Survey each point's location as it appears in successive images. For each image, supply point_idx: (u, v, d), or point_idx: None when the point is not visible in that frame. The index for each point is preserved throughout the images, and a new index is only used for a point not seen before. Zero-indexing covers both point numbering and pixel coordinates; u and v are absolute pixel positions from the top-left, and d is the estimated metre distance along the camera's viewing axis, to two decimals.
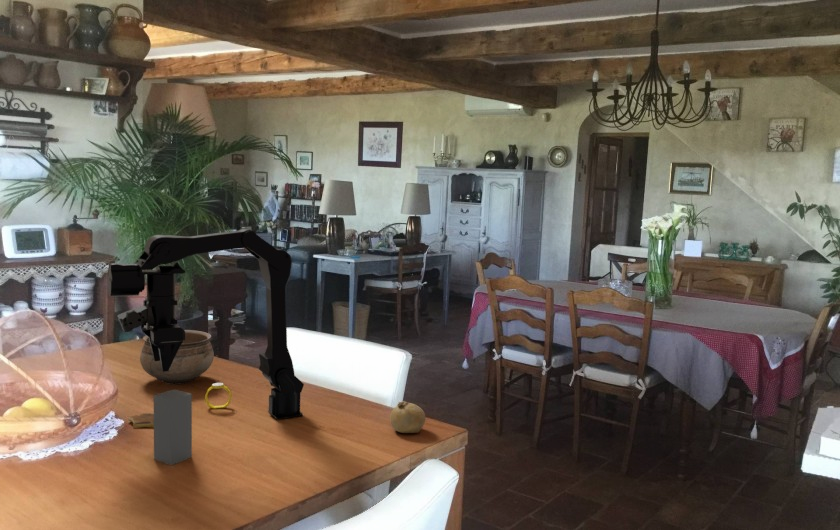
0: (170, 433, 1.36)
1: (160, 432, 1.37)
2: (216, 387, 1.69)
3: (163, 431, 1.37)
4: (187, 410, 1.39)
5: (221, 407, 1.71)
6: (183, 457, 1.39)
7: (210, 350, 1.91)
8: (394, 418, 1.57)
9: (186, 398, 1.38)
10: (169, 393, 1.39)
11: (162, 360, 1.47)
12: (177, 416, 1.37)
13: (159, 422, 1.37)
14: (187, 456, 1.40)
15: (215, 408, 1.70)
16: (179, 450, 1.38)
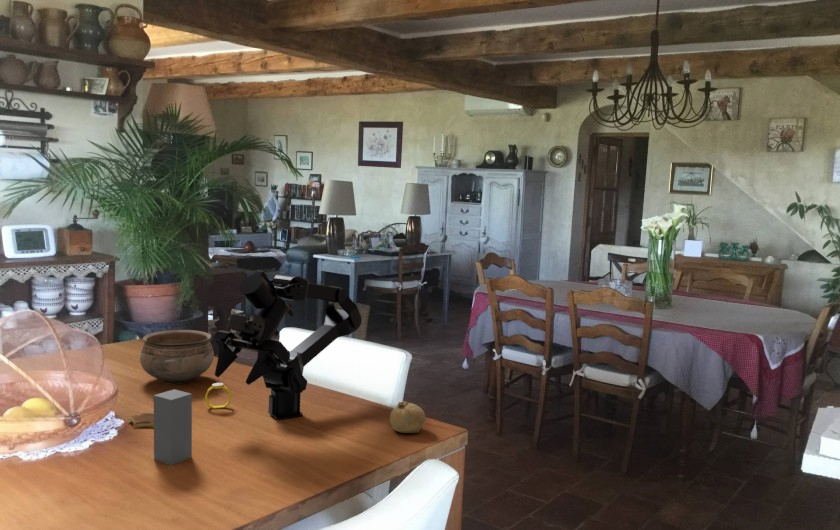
0: (170, 433, 1.36)
1: (160, 432, 1.37)
2: (216, 387, 1.69)
3: (163, 431, 1.37)
4: (187, 410, 1.39)
5: (221, 407, 1.71)
6: (183, 457, 1.39)
7: (210, 350, 1.91)
8: (394, 418, 1.57)
9: (186, 398, 1.38)
10: (169, 393, 1.39)
11: (254, 371, 1.50)
12: (177, 416, 1.37)
13: (159, 422, 1.37)
14: (187, 456, 1.40)
15: (215, 408, 1.70)
16: (179, 450, 1.38)
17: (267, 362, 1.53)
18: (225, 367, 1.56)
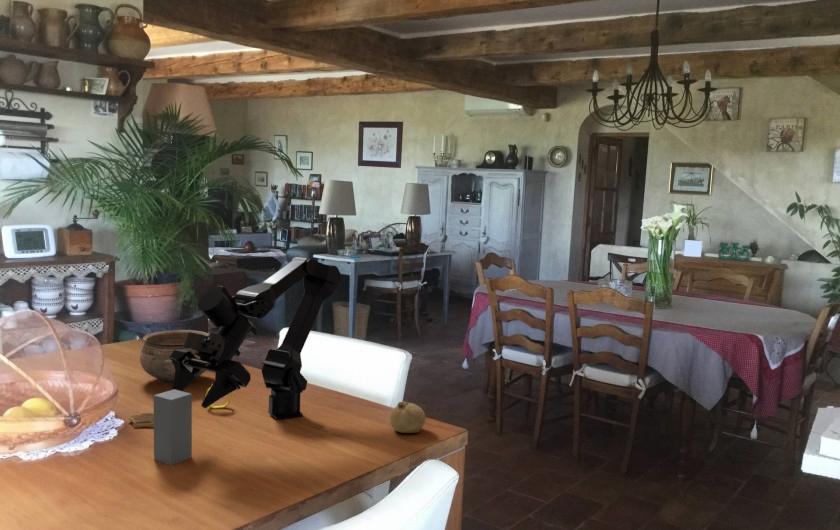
0: (170, 433, 1.36)
1: (160, 432, 1.37)
2: None
3: (163, 431, 1.37)
4: (187, 410, 1.39)
5: (221, 407, 1.71)
6: (183, 457, 1.39)
7: None
8: (394, 418, 1.57)
9: (186, 398, 1.38)
10: (169, 393, 1.39)
11: (211, 394, 1.40)
12: (177, 416, 1.37)
13: (159, 422, 1.37)
14: (187, 456, 1.40)
15: (215, 408, 1.70)
16: (179, 450, 1.38)
17: (226, 384, 1.42)
18: (181, 389, 1.46)
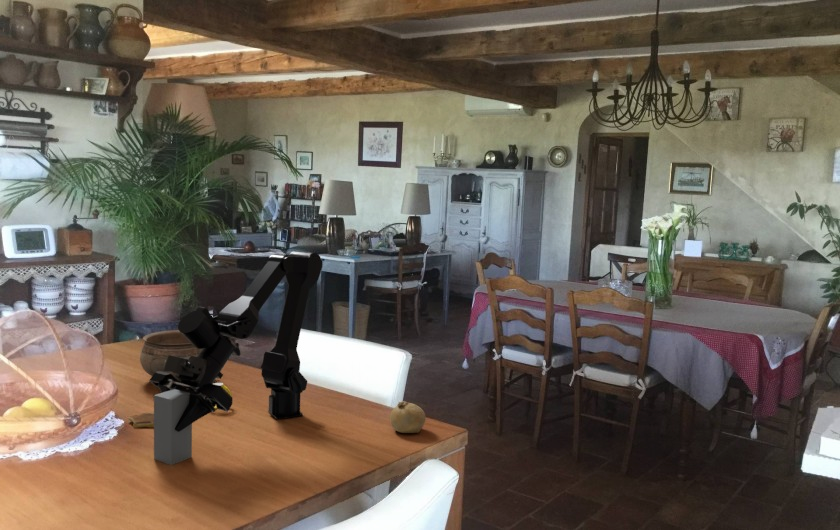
0: (170, 433, 1.36)
1: (160, 432, 1.37)
2: None
3: (163, 431, 1.37)
4: None
5: None
6: (183, 457, 1.39)
7: None
8: (394, 418, 1.57)
9: (186, 398, 1.38)
10: (170, 393, 1.39)
11: (185, 417, 1.37)
12: (177, 416, 1.37)
13: (159, 422, 1.37)
14: (187, 456, 1.40)
15: (215, 408, 1.70)
16: (179, 450, 1.38)
17: (200, 406, 1.40)
18: None
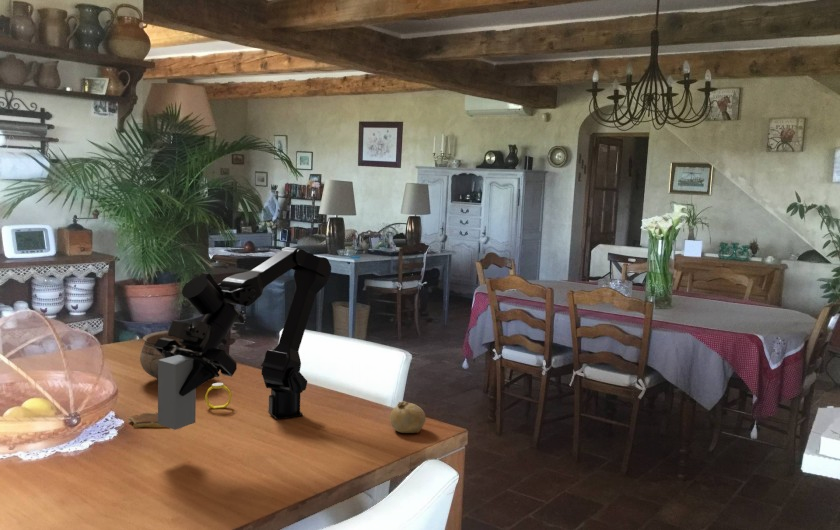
0: (174, 398, 1.36)
1: (164, 397, 1.37)
2: (216, 387, 1.69)
3: (167, 395, 1.37)
4: None
5: (221, 407, 1.71)
6: (187, 422, 1.39)
7: None
8: (394, 418, 1.57)
9: (190, 363, 1.38)
10: (174, 358, 1.39)
11: (189, 382, 1.37)
12: (181, 381, 1.37)
13: (163, 387, 1.37)
14: (190, 421, 1.40)
15: (215, 408, 1.70)
16: (182, 415, 1.38)
17: (204, 371, 1.40)
18: None
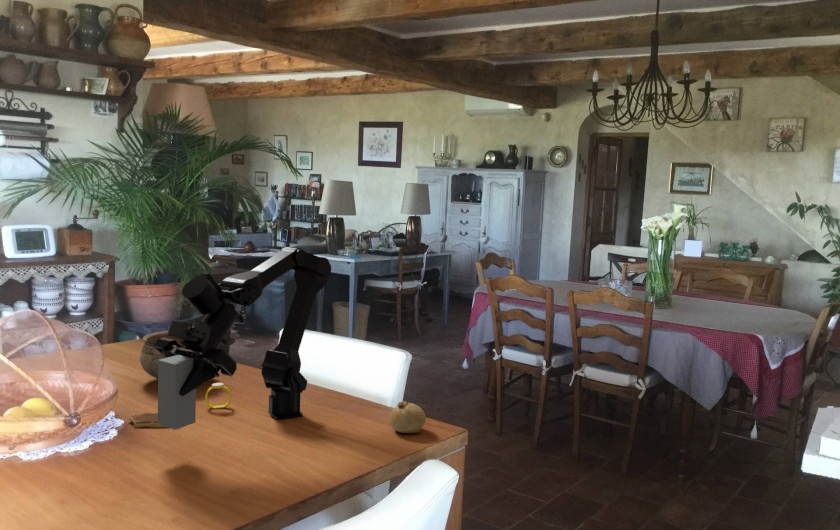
0: (174, 398, 1.36)
1: (164, 397, 1.37)
2: (216, 387, 1.69)
3: (167, 395, 1.37)
4: None
5: (221, 407, 1.71)
6: (187, 422, 1.39)
7: None
8: (394, 418, 1.57)
9: (190, 363, 1.38)
10: (174, 358, 1.39)
11: (189, 382, 1.37)
12: (181, 381, 1.37)
13: (163, 387, 1.37)
14: (190, 421, 1.40)
15: (215, 408, 1.70)
16: (182, 415, 1.38)
17: (204, 371, 1.40)
18: None
